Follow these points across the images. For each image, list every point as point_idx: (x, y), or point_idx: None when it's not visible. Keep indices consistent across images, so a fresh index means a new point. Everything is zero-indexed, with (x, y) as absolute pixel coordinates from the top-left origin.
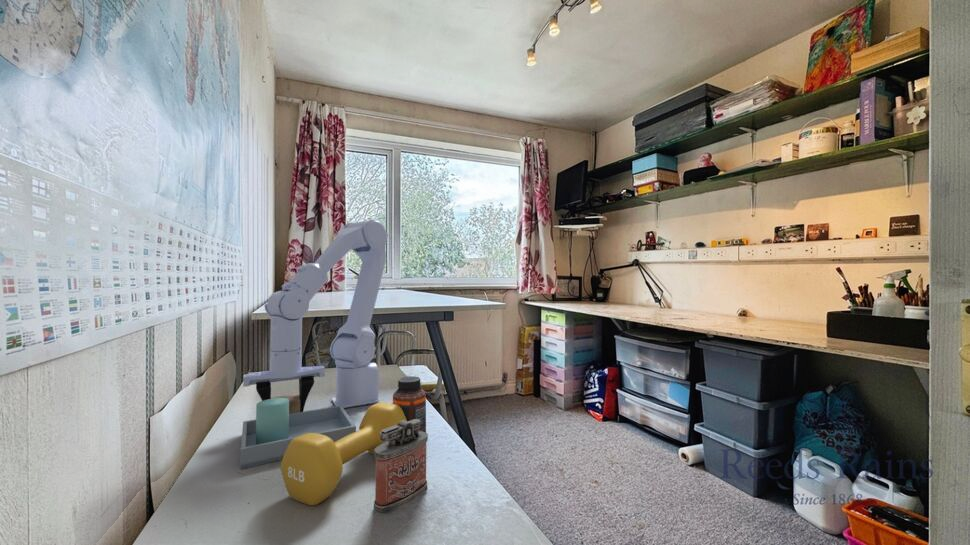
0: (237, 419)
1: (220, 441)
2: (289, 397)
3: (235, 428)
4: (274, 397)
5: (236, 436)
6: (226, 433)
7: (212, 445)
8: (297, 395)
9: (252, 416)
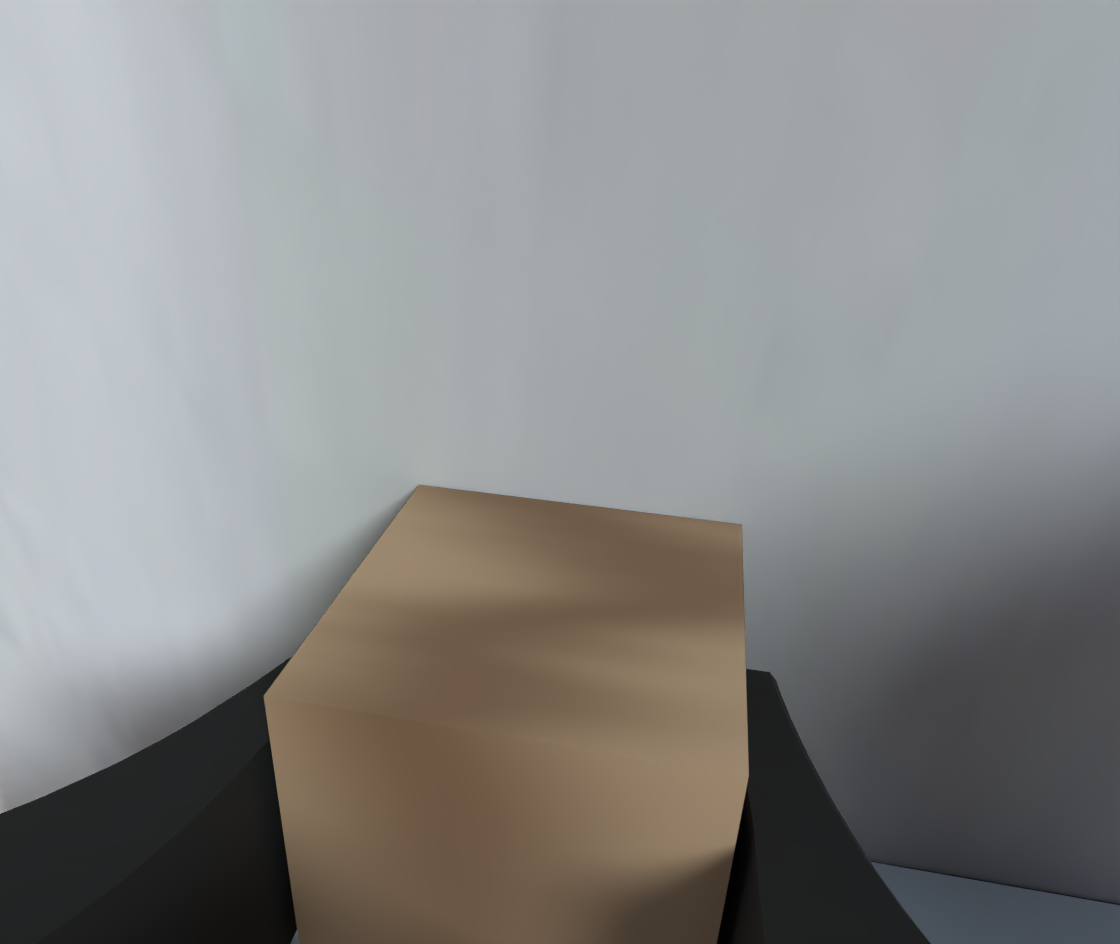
0: (8, 101)
1: (48, 697)
2: (562, 884)
3: (80, 454)
4: (323, 743)
5: (146, 673)
6: (36, 544)
7: (15, 735)
8: (708, 875)
9: (179, 81)
